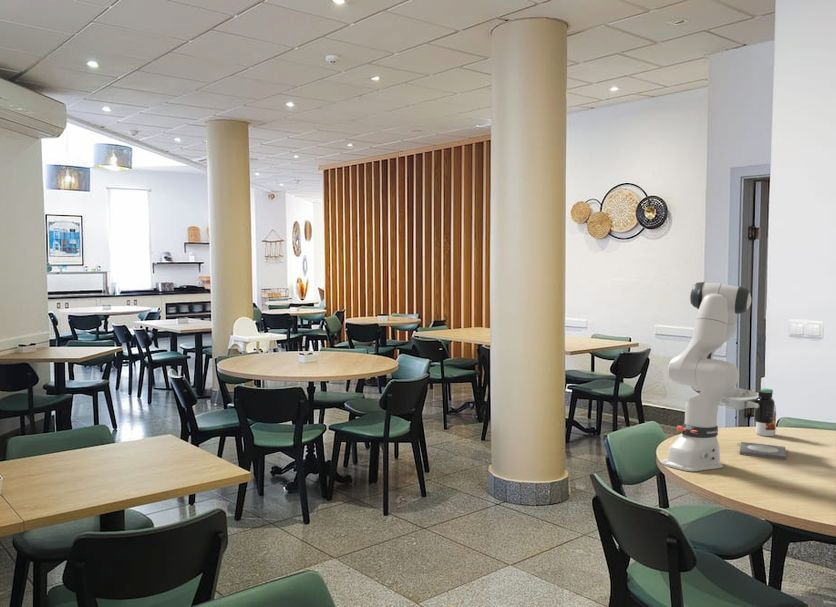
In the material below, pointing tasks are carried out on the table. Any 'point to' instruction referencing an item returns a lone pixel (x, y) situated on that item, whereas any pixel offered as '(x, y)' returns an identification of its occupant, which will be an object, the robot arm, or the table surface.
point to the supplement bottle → (764, 408)
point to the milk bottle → (767, 428)
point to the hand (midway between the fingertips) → (766, 405)
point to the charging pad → (763, 450)
